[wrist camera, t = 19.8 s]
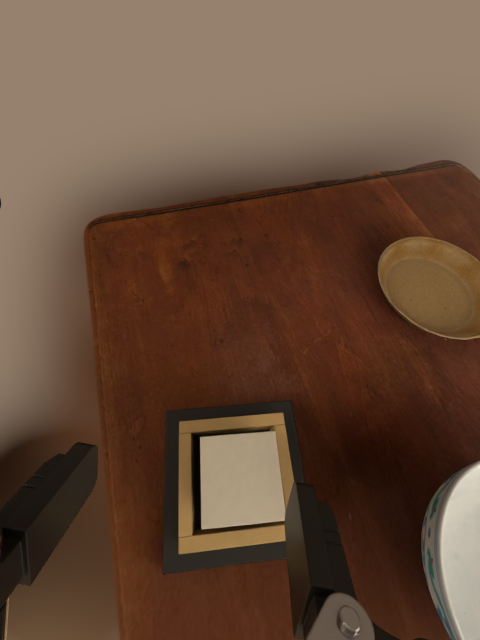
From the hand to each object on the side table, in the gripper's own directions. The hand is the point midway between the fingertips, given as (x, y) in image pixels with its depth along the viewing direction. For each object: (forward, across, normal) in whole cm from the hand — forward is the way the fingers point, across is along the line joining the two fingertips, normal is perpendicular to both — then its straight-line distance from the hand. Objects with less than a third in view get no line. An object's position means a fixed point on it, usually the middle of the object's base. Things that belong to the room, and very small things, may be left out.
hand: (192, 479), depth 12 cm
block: (+11, -2, +10) cm, 15 cm away
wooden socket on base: (+12, -2, +11) cm, 16 cm away
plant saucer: (+29, -23, -6) cm, 37 cm away
